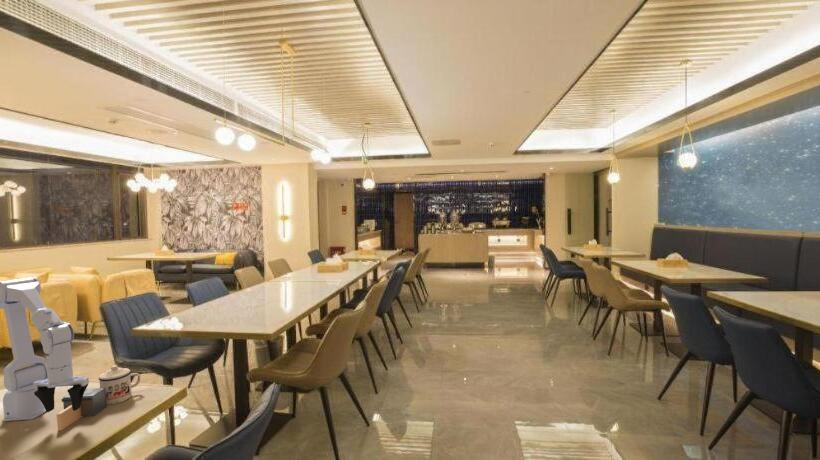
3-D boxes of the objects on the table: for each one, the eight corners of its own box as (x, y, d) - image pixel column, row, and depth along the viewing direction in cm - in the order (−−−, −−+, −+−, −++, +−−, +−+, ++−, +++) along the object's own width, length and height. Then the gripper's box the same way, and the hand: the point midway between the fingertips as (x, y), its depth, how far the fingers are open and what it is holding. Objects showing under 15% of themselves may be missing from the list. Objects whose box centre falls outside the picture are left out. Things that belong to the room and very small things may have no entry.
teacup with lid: (104, 408, 138) (101, 373, 137) (97, 400, 144) (94, 367, 143) (145, 394, 147) (143, 362, 146) (137, 388, 153) (135, 356, 152)
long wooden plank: (57, 430, 124) (56, 414, 124) (86, 411, 136) (85, 396, 136) (61, 430, 124) (60, 414, 124) (90, 410, 136) (88, 395, 136)
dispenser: (63, 418, 131) (61, 398, 131) (78, 408, 138) (76, 389, 138) (92, 417, 132) (91, 396, 131) (106, 407, 138) (105, 387, 138)
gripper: (22, 372, 121) (26, 418, 121) (75, 369, 122) (78, 414, 122) (42, 363, 128) (46, 406, 128) (92, 360, 129) (95, 403, 129)
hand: (63, 409), depth 126 cm, fingers open, 7 cm apart
